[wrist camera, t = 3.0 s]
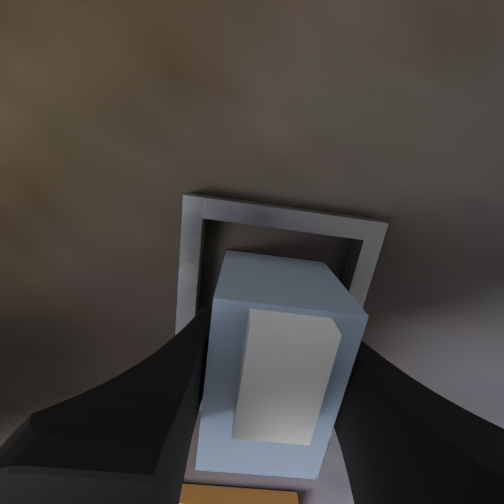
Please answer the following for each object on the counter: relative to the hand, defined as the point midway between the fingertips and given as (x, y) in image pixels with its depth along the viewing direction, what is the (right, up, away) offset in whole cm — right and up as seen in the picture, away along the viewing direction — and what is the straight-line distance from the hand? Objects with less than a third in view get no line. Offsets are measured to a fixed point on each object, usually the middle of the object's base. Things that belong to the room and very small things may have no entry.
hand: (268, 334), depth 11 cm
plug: (0, 0, +2) cm, 2 cm away
